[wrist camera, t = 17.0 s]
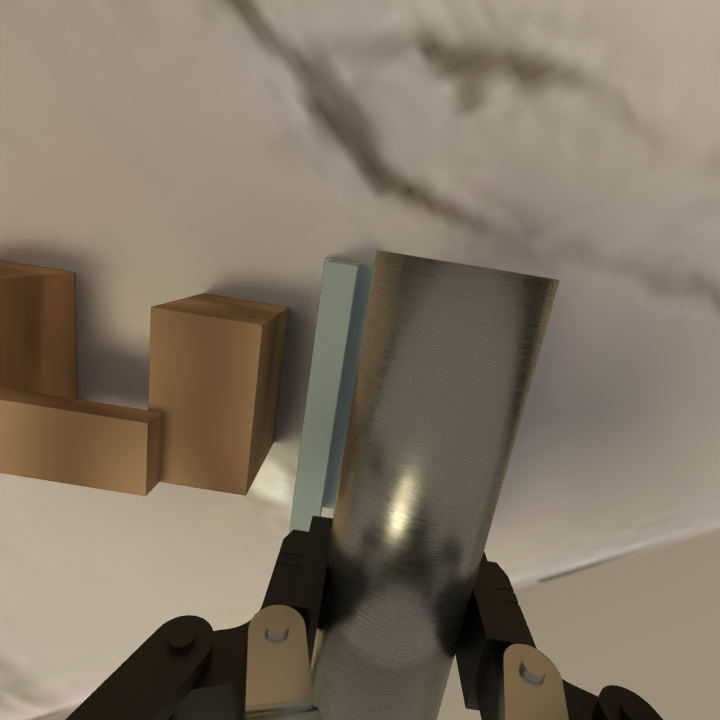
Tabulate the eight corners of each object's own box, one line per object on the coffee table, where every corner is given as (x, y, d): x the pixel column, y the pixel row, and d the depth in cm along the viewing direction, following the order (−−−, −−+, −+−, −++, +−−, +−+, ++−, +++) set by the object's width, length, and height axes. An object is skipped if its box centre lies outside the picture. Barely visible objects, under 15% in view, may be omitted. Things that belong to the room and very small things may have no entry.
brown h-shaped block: (-2, 399, 21) (-132, 451, 16) (-12, 258, 19) (-164, 262, 14) (272, 443, 21) (237, 510, 16) (288, 307, 19) (254, 330, 14)
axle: (423, 667, 15) (435, 813, 11) (313, 647, 15) (287, 785, 11) (524, 274, 11) (595, 286, 7) (378, 250, 11) (373, 249, 7)
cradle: (296, 491, 22) (281, 535, 18) (327, 257, 19) (317, 259, 15) (447, 515, 22) (460, 564, 18) (503, 286, 19) (531, 295, 15)
